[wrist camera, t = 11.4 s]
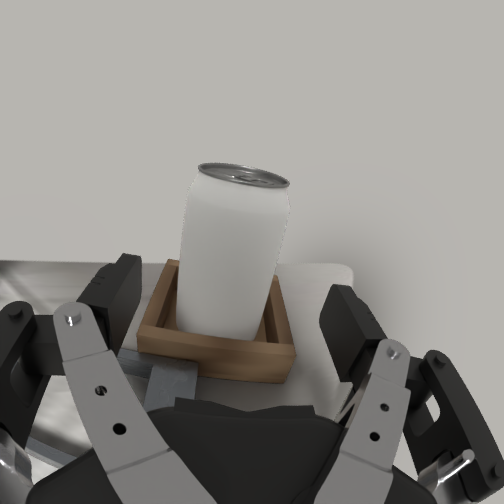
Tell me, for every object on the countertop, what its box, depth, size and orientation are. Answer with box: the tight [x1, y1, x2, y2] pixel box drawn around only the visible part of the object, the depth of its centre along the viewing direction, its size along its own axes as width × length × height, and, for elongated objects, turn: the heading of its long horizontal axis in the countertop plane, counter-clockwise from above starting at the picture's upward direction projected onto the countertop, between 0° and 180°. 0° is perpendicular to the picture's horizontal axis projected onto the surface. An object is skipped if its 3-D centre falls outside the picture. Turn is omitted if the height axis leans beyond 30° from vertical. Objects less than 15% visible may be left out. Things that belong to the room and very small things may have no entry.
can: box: [176, 163, 290, 341], centre depth 19 cm, size 6×6×12 cm
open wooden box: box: [137, 259, 296, 384], centre depth 21 cm, size 10×10×3 cm
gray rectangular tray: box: [11, 348, 198, 469], centre depth 12 cm, size 13×9×2 cm
